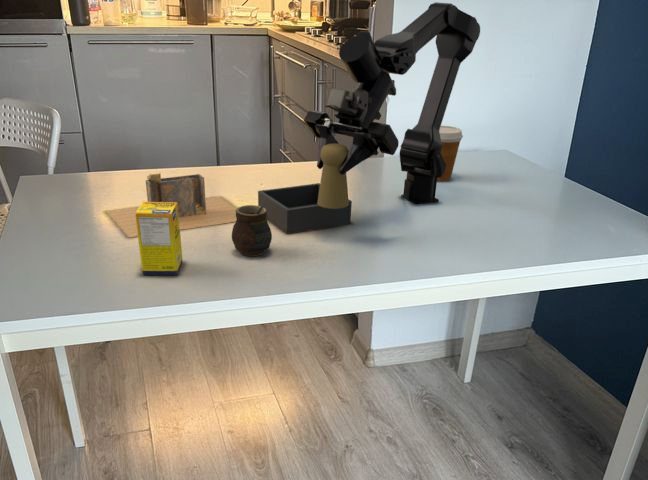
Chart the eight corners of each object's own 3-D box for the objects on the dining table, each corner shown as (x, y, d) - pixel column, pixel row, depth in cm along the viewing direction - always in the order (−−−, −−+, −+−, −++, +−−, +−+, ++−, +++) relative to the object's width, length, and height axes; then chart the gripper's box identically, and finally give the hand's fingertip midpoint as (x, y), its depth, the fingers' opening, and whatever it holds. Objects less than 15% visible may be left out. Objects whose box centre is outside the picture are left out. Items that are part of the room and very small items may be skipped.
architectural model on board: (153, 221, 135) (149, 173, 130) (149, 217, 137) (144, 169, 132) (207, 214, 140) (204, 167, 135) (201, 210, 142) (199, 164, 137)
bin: (318, 204, 148) (319, 182, 146) (350, 223, 138) (351, 200, 135) (258, 213, 142) (257, 190, 139) (287, 233, 132) (287, 210, 129)
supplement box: (182, 262, 118) (178, 201, 112) (177, 276, 113) (172, 213, 107) (148, 261, 117) (142, 200, 112) (141, 275, 112) (134, 212, 107)
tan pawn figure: (310, 204, 127) (311, 145, 121) (328, 196, 131) (330, 139, 126) (337, 210, 124) (339, 150, 118) (354, 202, 128) (357, 144, 123)
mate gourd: (252, 241, 127) (250, 189, 122) (281, 251, 123) (281, 198, 118) (224, 251, 122) (221, 198, 117) (254, 263, 118) (252, 208, 113)
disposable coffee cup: (416, 180, 166) (421, 131, 160) (422, 171, 174) (427, 123, 168) (454, 185, 164) (461, 135, 158) (459, 175, 172) (465, 127, 166)
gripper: (310, 64, 123) (270, 135, 122) (395, 76, 113) (353, 154, 112) (335, 103, 133) (298, 170, 131) (415, 117, 123) (377, 190, 121)
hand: (329, 170), depth 123 cm, fingers closed on tan pawn figure, 5 cm apart
